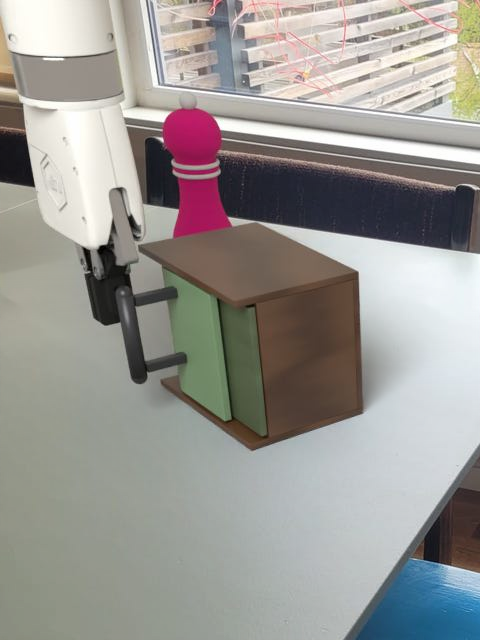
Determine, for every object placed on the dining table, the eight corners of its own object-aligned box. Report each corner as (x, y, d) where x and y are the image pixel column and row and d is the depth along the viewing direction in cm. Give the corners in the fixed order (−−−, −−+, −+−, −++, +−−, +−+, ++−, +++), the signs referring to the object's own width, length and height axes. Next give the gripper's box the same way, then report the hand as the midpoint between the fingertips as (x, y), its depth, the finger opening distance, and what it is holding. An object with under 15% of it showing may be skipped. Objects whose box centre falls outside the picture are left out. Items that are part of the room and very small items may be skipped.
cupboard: (251, 450, 85) (234, 301, 77) (160, 385, 94) (137, 244, 86) (363, 413, 92) (359, 271, 83) (268, 355, 100) (256, 221, 92)
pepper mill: (203, 302, 110) (177, 102, 98) (165, 284, 114) (135, 89, 101) (255, 287, 115) (237, 93, 102) (218, 271, 118) (195, 81, 106)
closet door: (170, 438, 84) (149, 308, 77) (128, 405, 89) (103, 279, 82) (231, 419, 87) (216, 293, 80) (187, 388, 92) (169, 265, 85)
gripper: (-22, 64, 76) (36, 302, 87) (63, 101, 67) (115, 359, 79) (73, 56, 80) (116, 285, 91) (164, 90, 71) (199, 337, 83)
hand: (115, 319), depth 85 cm, fingers closed
